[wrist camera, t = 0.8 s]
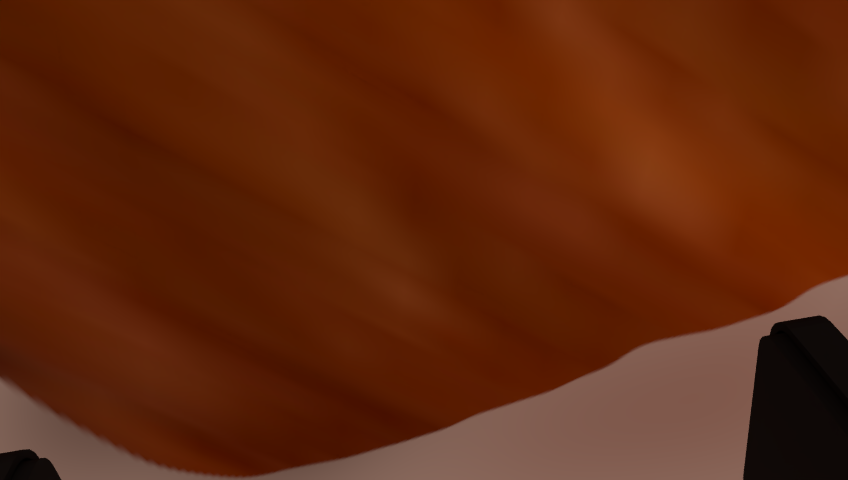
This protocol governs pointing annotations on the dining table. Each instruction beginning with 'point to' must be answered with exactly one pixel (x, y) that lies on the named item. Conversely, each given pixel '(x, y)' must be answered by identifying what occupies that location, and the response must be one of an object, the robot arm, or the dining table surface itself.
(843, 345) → the robot arm
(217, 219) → the dining table surface
